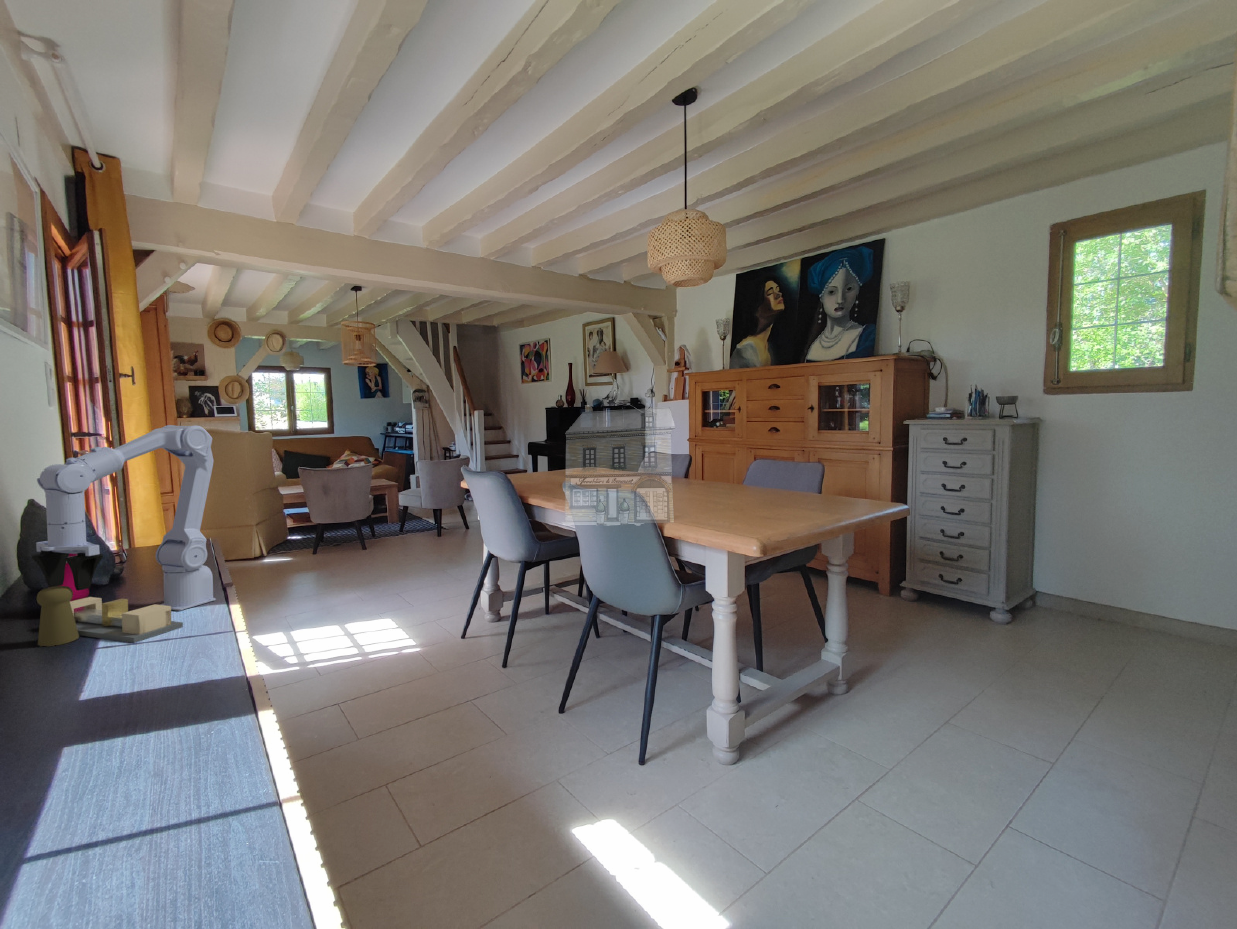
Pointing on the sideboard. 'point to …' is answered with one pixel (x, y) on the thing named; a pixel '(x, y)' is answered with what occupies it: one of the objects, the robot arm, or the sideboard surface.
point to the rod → (103, 613)
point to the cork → (56, 616)
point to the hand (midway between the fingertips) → (69, 587)
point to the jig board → (128, 622)
